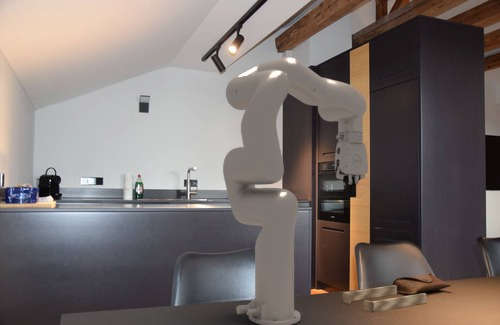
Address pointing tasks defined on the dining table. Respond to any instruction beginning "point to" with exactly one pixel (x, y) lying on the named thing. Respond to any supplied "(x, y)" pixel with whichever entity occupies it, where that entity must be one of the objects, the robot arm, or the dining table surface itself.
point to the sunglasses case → (419, 284)
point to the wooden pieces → (382, 304)
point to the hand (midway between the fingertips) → (350, 197)
